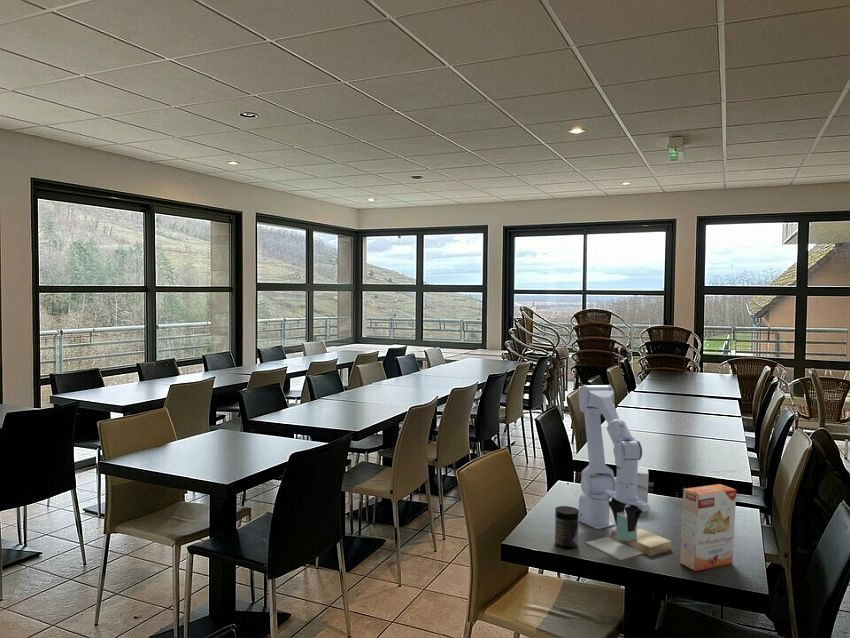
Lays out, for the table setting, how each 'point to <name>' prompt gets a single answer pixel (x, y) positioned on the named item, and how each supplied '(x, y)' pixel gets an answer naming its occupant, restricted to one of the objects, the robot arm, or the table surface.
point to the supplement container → (566, 527)
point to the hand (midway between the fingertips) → (625, 528)
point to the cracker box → (707, 526)
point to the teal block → (624, 528)
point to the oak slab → (646, 542)
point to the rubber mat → (614, 548)
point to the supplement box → (642, 485)
